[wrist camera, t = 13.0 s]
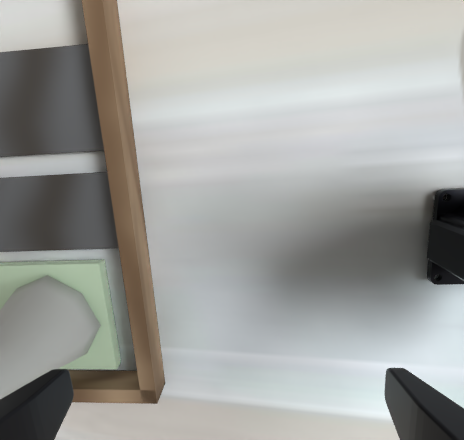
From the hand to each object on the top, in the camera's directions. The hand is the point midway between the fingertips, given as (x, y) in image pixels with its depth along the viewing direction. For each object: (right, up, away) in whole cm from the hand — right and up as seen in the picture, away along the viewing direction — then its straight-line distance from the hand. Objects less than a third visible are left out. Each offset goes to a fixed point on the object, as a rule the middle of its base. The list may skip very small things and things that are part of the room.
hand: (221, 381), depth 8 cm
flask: (-13, -3, +15) cm, 20 cm away
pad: (-14, -3, +15) cm, 21 cm away
